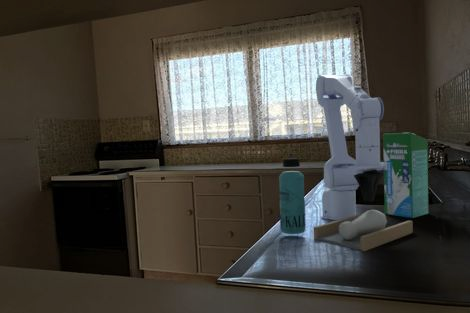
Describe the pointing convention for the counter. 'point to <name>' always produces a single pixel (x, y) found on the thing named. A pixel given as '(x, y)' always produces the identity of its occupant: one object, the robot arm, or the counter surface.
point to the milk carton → (405, 175)
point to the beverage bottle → (292, 199)
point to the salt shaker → (363, 224)
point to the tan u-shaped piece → (364, 241)
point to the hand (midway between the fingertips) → (368, 200)
